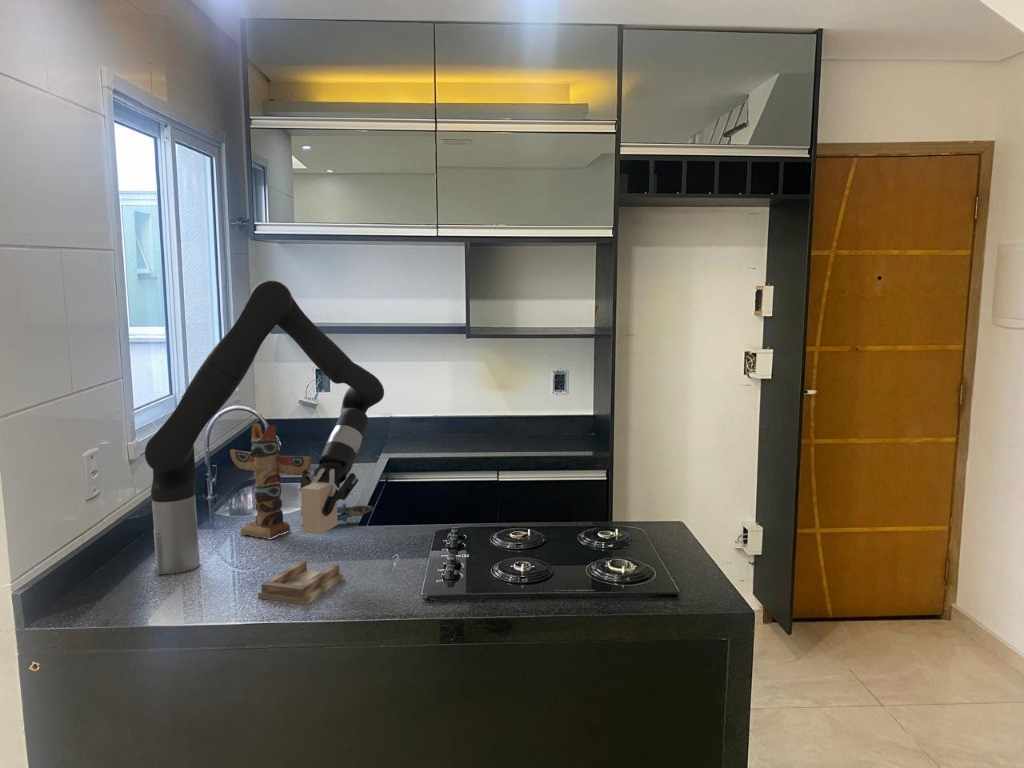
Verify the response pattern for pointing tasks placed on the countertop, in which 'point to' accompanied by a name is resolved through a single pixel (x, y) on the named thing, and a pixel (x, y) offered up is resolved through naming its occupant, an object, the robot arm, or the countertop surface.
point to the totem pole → (268, 480)
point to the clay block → (316, 508)
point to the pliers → (351, 511)
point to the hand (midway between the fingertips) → (314, 512)
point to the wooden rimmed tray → (300, 584)
